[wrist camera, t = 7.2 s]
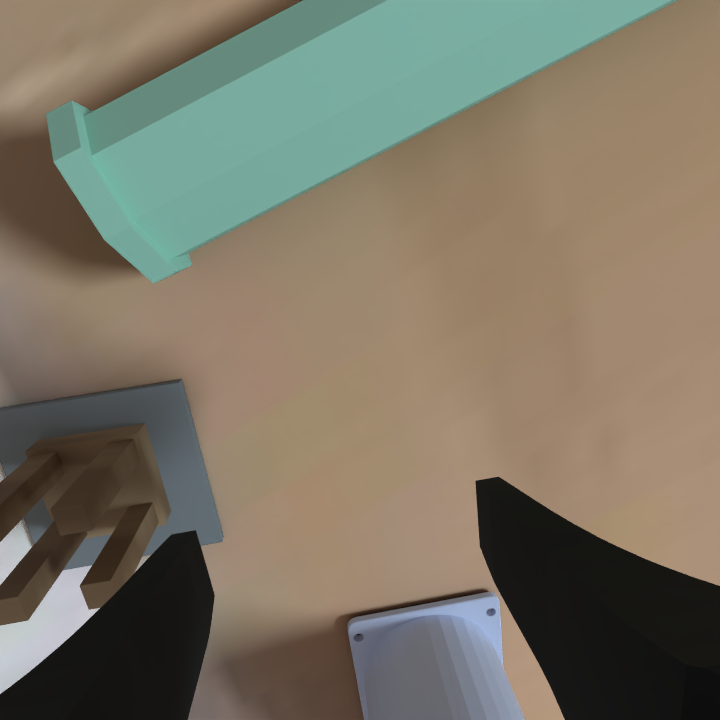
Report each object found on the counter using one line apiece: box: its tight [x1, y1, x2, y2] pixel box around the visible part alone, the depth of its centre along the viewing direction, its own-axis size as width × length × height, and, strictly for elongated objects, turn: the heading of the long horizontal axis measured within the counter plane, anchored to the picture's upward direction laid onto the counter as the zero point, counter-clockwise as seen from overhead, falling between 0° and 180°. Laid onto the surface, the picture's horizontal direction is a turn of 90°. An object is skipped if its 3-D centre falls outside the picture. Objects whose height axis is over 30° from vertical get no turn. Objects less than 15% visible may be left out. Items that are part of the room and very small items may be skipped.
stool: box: [0, 423, 171, 625], centre depth 18 cm, size 4×4×6 cm
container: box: [46, 0, 677, 283], centre depth 15 cm, size 6×6×25 cm
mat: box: [0, 379, 224, 570], centre depth 21 cm, size 8×8×1 cm
